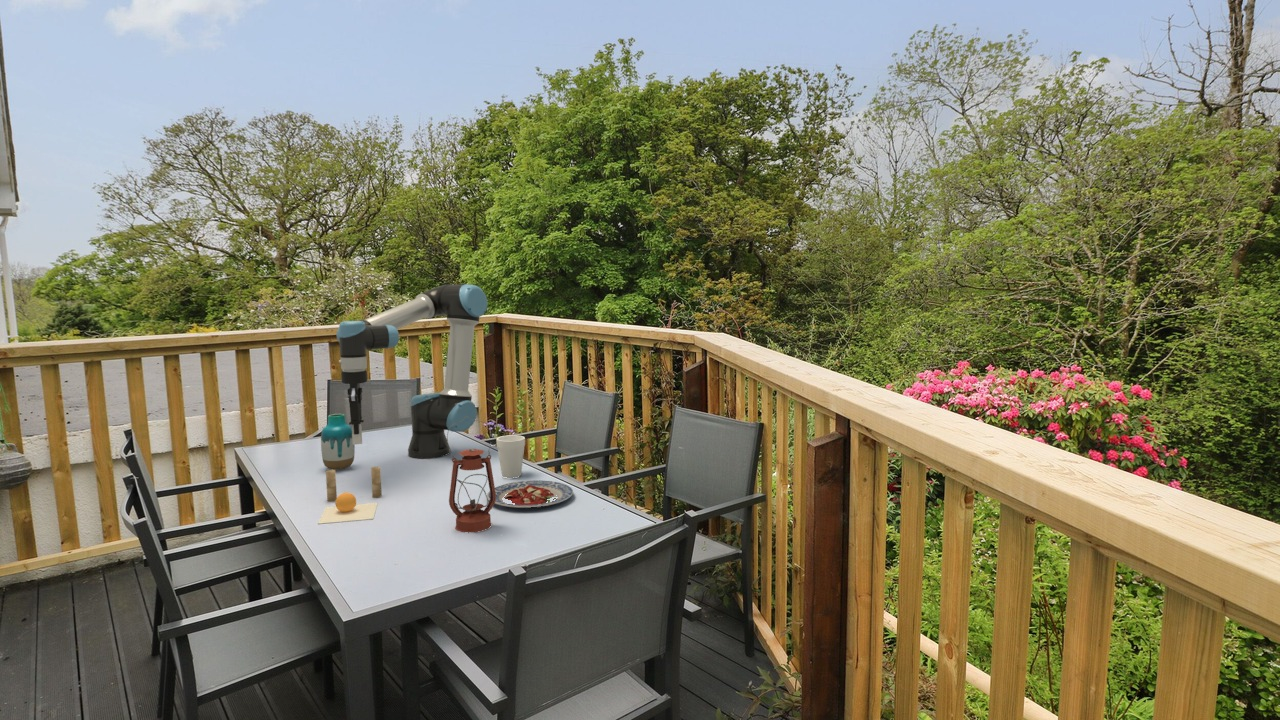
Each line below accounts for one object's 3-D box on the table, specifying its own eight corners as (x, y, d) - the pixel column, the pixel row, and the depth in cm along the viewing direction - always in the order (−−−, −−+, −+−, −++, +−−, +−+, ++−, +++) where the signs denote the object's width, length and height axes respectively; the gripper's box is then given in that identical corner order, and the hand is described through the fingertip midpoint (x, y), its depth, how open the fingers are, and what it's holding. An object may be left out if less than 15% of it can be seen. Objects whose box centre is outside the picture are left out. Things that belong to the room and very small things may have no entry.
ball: (353, 505, 190) (356, 515, 194) (356, 488, 194) (358, 499, 198) (332, 505, 189) (335, 516, 193) (335, 489, 193) (338, 499, 196)
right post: (381, 494, 209) (380, 466, 208) (381, 497, 207) (379, 468, 206) (372, 495, 208) (371, 467, 207) (372, 498, 206) (370, 469, 205)
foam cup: (491, 478, 227) (490, 440, 226) (507, 471, 236) (506, 434, 234) (516, 481, 224) (515, 442, 222) (530, 473, 232) (530, 436, 231)
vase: (347, 473, 233) (344, 418, 230) (316, 473, 233) (313, 418, 231) (360, 465, 243) (358, 412, 241) (331, 464, 243) (328, 412, 241)
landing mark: (377, 503, 201) (377, 502, 201) (373, 519, 188) (373, 518, 188) (325, 507, 197) (325, 507, 197) (317, 524, 184) (317, 523, 184)
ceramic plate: (469, 500, 205) (469, 490, 205) (537, 482, 224) (537, 473, 224) (522, 520, 188) (522, 510, 187) (590, 499, 206) (590, 489, 206)
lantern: (472, 535, 176) (469, 421, 172) (445, 527, 181) (441, 417, 178) (499, 524, 184) (496, 415, 181) (472, 517, 189) (469, 411, 186)
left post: (337, 498, 205) (335, 469, 204) (336, 501, 203) (334, 471, 202) (328, 499, 205) (326, 470, 204) (326, 501, 202) (325, 472, 201)
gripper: (343, 368, 219) (347, 439, 222) (338, 373, 206) (341, 449, 209) (368, 367, 221) (371, 438, 224) (364, 372, 209) (368, 447, 211)
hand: (357, 443), depth 216 cm, fingers closed
